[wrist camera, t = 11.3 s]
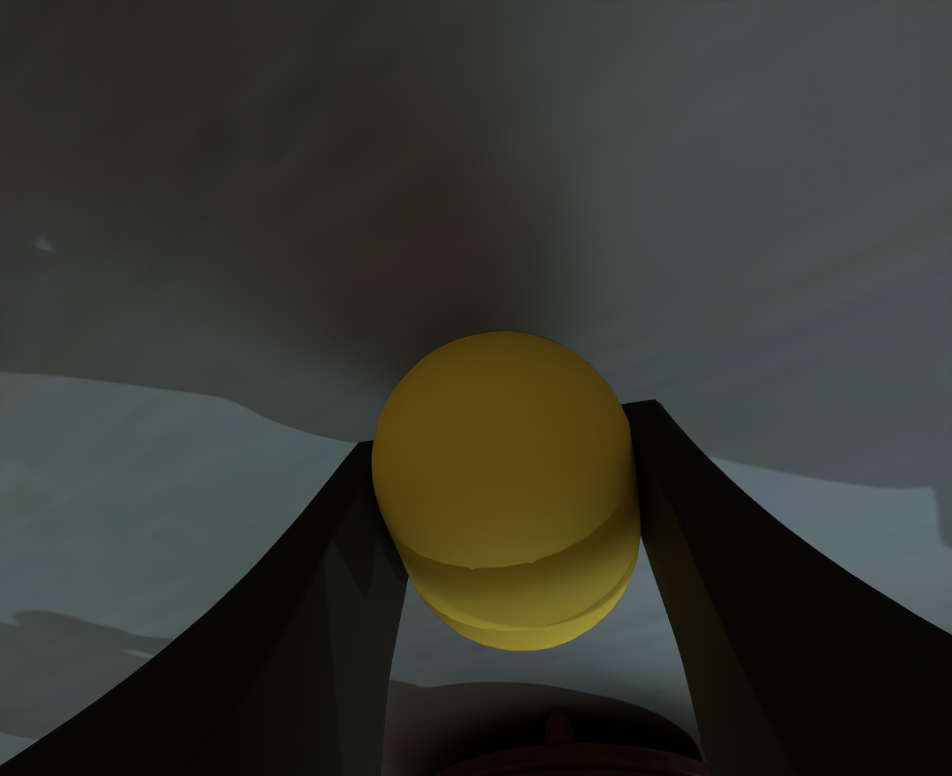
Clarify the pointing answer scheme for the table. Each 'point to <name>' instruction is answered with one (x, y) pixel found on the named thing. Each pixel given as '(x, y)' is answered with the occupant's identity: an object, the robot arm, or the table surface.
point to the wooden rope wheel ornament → (576, 758)
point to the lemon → (509, 489)
